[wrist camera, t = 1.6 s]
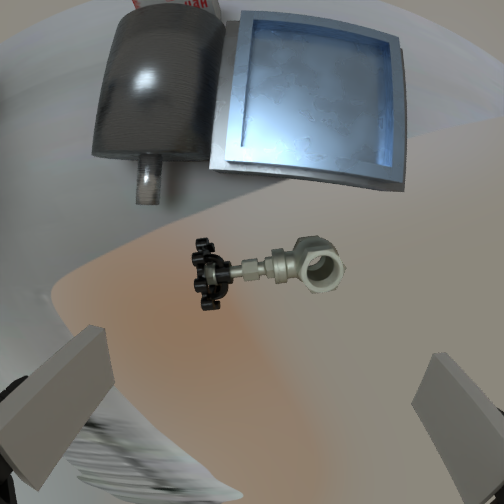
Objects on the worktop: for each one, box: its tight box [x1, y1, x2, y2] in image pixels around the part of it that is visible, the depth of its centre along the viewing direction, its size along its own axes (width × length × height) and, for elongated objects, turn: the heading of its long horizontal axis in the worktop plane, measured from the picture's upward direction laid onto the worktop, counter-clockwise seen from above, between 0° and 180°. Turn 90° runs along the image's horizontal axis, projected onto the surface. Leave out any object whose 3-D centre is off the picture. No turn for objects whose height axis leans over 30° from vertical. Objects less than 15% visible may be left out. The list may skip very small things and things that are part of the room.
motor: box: [92, 3, 407, 205], centre depth 20 cm, size 26×17×10 cm, turn 85°
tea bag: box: [132, 0, 221, 20], centre depth 18 cm, size 4×7×10 cm, turn 94°
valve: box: [192, 236, 346, 311], centre depth 24 cm, size 7×7×12 cm
